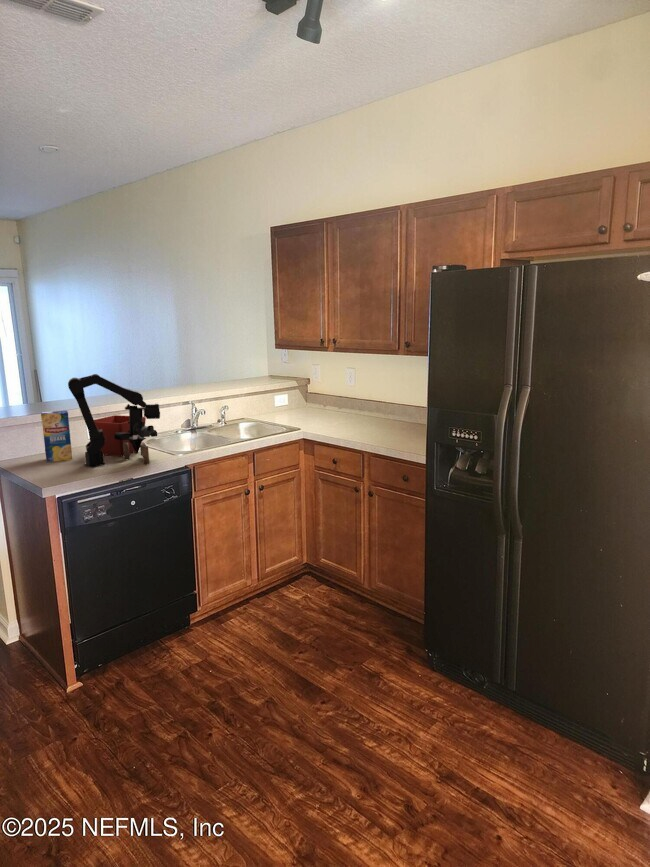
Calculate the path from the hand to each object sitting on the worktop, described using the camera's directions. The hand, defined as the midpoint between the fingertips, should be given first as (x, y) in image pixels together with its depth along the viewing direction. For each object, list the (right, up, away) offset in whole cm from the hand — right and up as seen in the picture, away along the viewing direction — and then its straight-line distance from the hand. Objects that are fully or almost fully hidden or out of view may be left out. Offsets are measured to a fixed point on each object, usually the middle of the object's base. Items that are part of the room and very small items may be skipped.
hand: (136, 453), depth 258 cm
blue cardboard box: (-37, -3, +5) cm, 38 cm away
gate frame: (0, -4, 0) cm, 4 cm away
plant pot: (-13, -1, +16) cm, 21 cm away
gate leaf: (+3, -2, +2) cm, 4 cm away
